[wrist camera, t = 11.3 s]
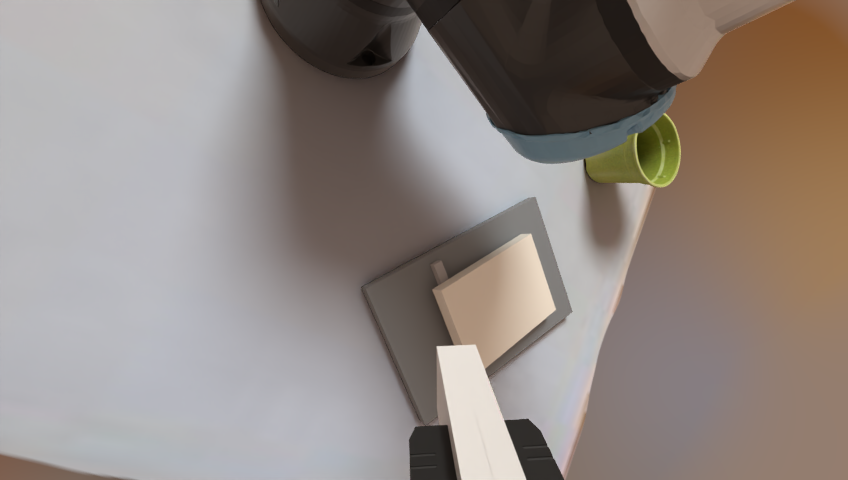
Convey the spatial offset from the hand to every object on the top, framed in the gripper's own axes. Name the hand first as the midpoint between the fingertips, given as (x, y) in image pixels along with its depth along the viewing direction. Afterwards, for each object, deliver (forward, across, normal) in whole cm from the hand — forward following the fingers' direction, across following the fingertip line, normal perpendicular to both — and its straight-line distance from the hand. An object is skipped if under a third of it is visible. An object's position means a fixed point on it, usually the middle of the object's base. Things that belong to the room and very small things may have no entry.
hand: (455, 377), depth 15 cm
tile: (+23, +3, -11) cm, 25 cm away
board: (+29, +7, -10) cm, 31 cm away
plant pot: (+42, +26, +5) cm, 49 cm away
